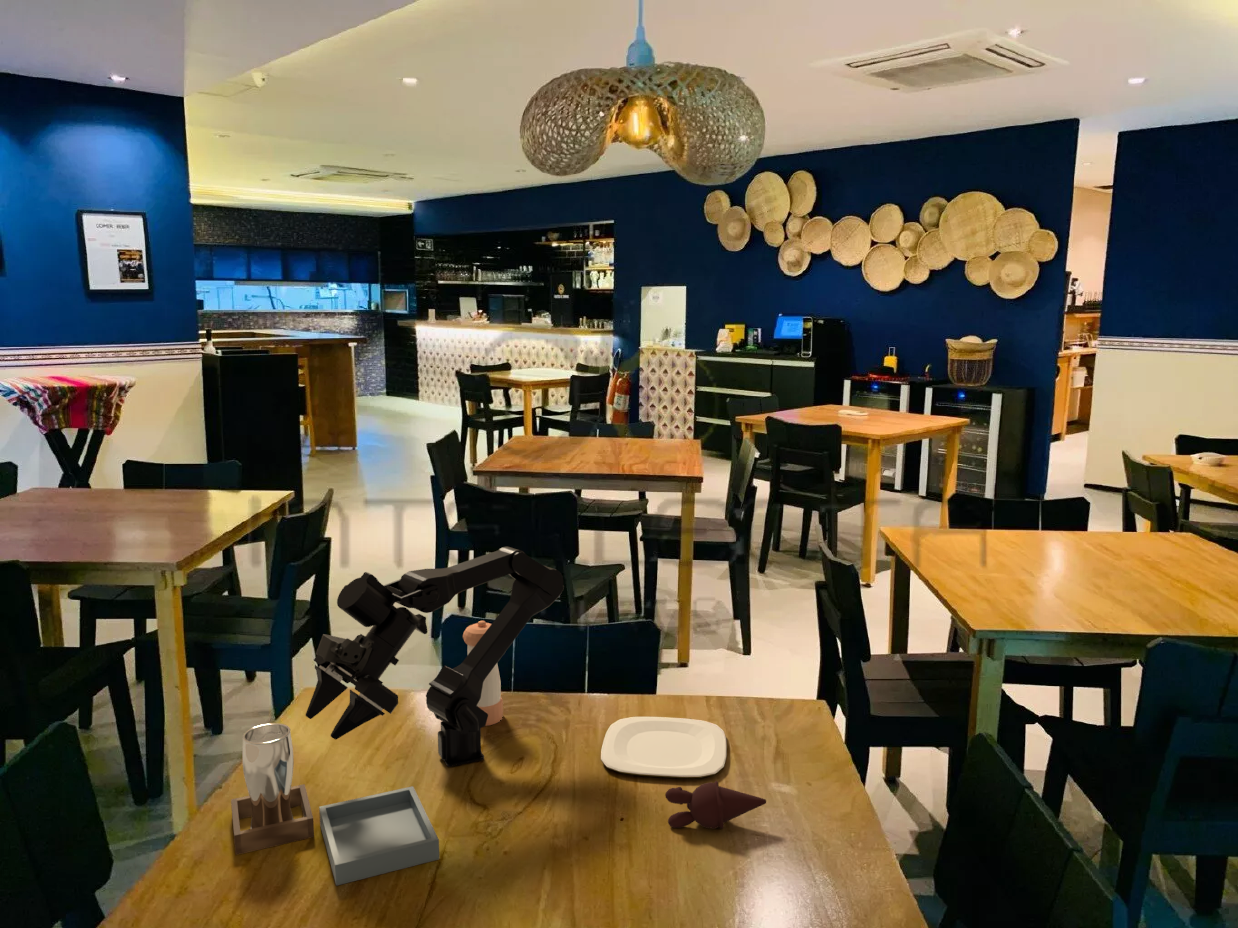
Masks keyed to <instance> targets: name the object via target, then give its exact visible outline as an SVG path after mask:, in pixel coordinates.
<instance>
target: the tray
mask: <svg viewBox="0 0 1238 928" xmlns="http://www.w3.org/2000/svg"><path fill="white" fill-rule="evenodd" d="M318 808H319V809H318V810H319V827H320V830H321V833H322V837H323V841H324V845H325V849H326V853H327V856H328V860H329V864H330V867H331V871H332V875H333V879H334V883H335V886H336V887H337V886H340V885H345V884H348V883H353V882H355V881H360V880H364V879H368V878H372V877H376V876H380V875H383V874H389V873H391V872H394V871H398V870H399V871H400V870H403V869H406V868H411V867H414V866H417V865H422V864H426V863H430V862H435V861H437V860H440V841H439V840H440V839H439V838H438V837H439V836H438V835H437V833H436V831H435V829H434V826H433V824H432V823H431V820H430V819H429V816H428V815H427V813H426V810H425V808H424V806H423V804H422V802H421V799H420V798H419V796H418V794H417V791H416V789H415V787H414V786H413V785H412V786H408V787H402V788H398V789H394V790H389V791H385V792H380V793H376V794H371V795H367V796H362V797H358V798H352V799H347V800H343V801H339V802H335V803H329V804H326V805H325V804H324V805H322V806H321V805H320V806H318Z"/></svg>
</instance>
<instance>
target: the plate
mask: <svg viewBox="0 0 1238 928" xmlns="http://www.w3.org/2000/svg"><path fill="white" fill-rule="evenodd" d="M725 733H726V732H725V731H724V730H723V729H722V728H721V727H720V726H719V725H718V724H716V723H712V722H710V721H706V720H704V719H703V720H701V719H693V718H685V717H683V718H682V717H681V718H680V717H665V716H631V717H624V718H620V719H618V720H615V722H613V723H612V724H610V726H609V727H608V729H607V730H606V732H605V735H604V738H603V741H602V746H601V748H600V749H601V750H600V761H601V762H602V763H603V764H604V766H605V767H606V768H607V769H609V770H612V771H615V772H617V773H620V774H625V775H632V776H642V777H654V778H655V777H657V778H673V779H674V778H676V779H700V778H705V777H711V776H716V775H717V774H718V773H719V772H720V771H721V770H723V769H724V767H725V763H726V760H727V737H726V734H725Z"/></svg>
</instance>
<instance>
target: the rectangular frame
mask: <svg viewBox="0 0 1238 928" xmlns="http://www.w3.org/2000/svg"><path fill="white" fill-rule="evenodd" d="M230 804H231V817H232V818H231V819H232V829H233V830H232V831H233V837H234V838H233V839H234V840H233V841H234V851H235V856H237V855H242V854H246V853H250V852H255V851H259V850H263V849H267V848H273V847H277V846H280V845H284V844H288V843H293V842H298V841H302V840H306V839H310V838H314V837H315V827H314V816H313V813H312V808H311V804H310V799H309V796H308V792H307V788H306V784H299V785H294V786H291V791H290V807H291V809H292V808H296V807H300V808H301V812H302V817H299V818H294V819H293V820H289V821H284V822H280V823H275V824H271V825H266V826H262V827H257V828H253V829H250V828H249V829H245V830H241V827H240V819H245V818H246V819H247V818H249V817H252V805H251V800H250V796H249V795H245V796H242V797H236V798H232V799H230Z"/></svg>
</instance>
